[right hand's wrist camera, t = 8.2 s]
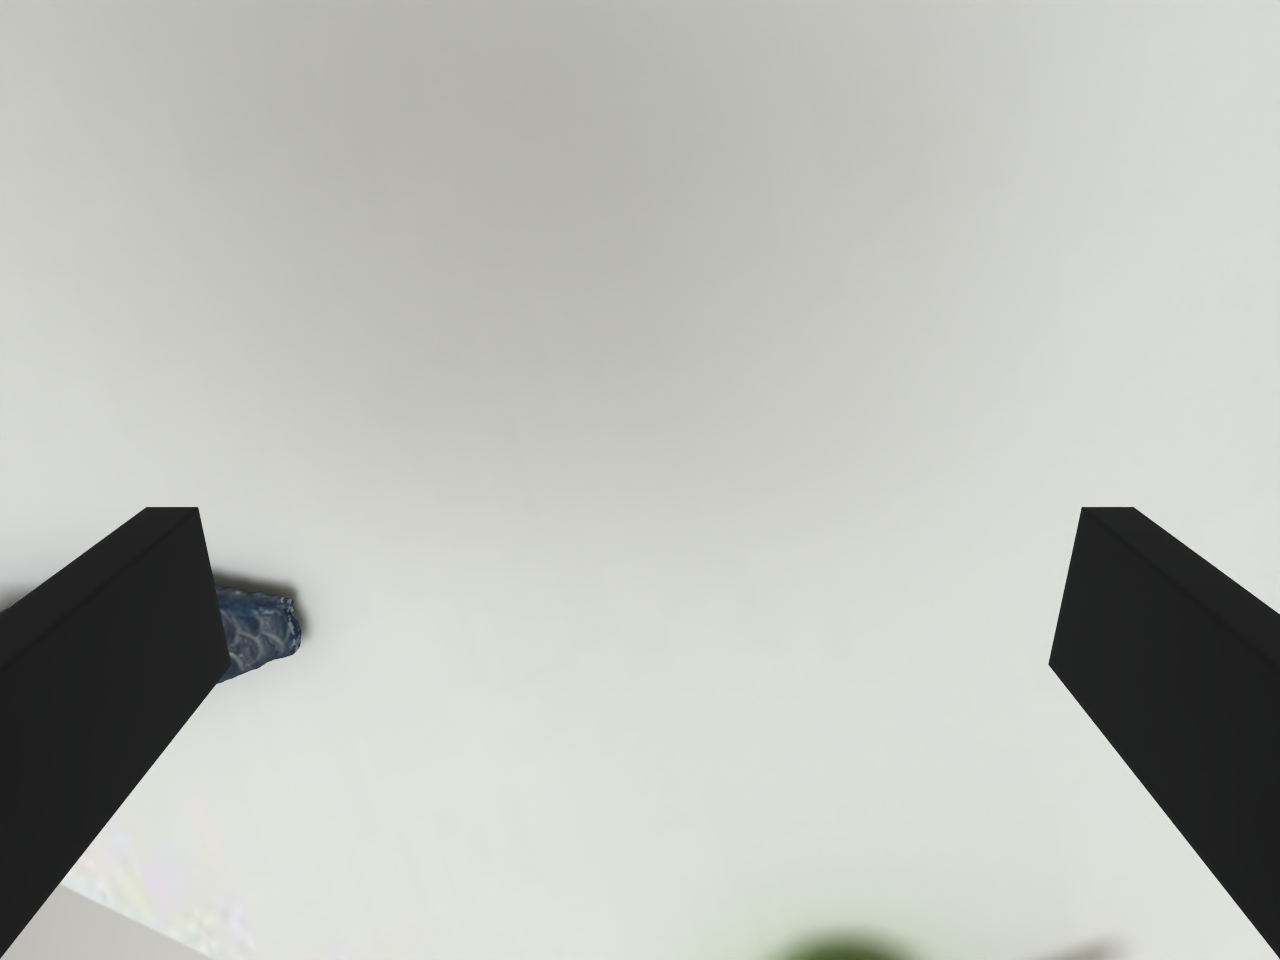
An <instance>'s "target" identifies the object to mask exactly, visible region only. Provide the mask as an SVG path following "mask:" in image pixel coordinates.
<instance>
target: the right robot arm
mask: <svg viewBox="0 0 1280 960" xmlns="http://www.w3.org/2000/svg"><path fill="white" fill-rule="evenodd" d="M231 665H232V664H231V660H230V655H229V650H228V646H227V641H226V636H225V631H224V627H223V622H222V617H221V613H220V608H219V603H218V599H217V594H216V589H215V584H214V580H213V575H212V570H211V566H210V561H209V556H208V551H207V547H206V542H205V537H204V533H203V528H202V523H201V519H200V514H199V509H198V507H146V508H145V509H143V510H142V511H141V512H139V513H138V514H137V515H135V516H134V517H132V518H131V519H130V520H128V521H127V522H126V523H124V524H123V525H122V526H120V527H119V528H117V529H116V530H115V531H113V532H112V533H111V534H109V535H108V536H107V537H105V538H104V539H102V540H101V541H100V542H98V543H97V544H96V545H94V546H93V547H92V548H90V549H89V550H87V551H86V552H85V553H83V554H82V555H81V556H79V557H78V558H77V559H75V560H74V561H72V562H71V563H70V564H68V565H67V566H66V567H64V568H63V569H62V570H60V571H59V572H57V573H56V574H55V575H53V576H52V577H51V578H49V579H48V580H47V581H45V582H44V583H42V584H41V585H40V586H38V587H37V588H36V589H34V590H33V591H32V592H30V593H29V594H27V595H26V596H25V597H23V598H22V599H21V600H19V601H18V602H17V603H15V604H14V605H12V606H11V607H10V608H8V609H7V610H6V611H4V612H3V613H2V614H0V958H1V957H2V956H3V954H4V953H5V952H6V951H7V949H8V948H9V947H10V945H11V944H12V943H13V942H14V940H15V939H16V938H17V937H18V935H19V934H20V933H21V932H22V930H23V929H24V928H25V926H26V925H27V924H28V923H29V921H30V920H31V919H32V918H33V916H34V915H35V914H36V913H37V911H38V910H39V909H40V907H41V906H42V905H43V904H44V902H45V901H46V900H47V898H48V897H49V896H50V895H51V893H52V892H53V891H54V890H55V888H56V887H57V886H58V885H59V883H60V882H61V881H62V879H63V878H64V877H65V876H66V874H67V873H68V872H69V871H70V869H71V868H72V867H73V865H74V864H75V863H76V862H77V860H78V859H79V858H80V857H81V855H82V854H83V853H84V851H85V850H86V849H87V848H88V846H89V845H90V844H91V843H92V841H93V840H94V839H95V837H96V836H97V835H98V834H99V832H100V831H101V830H102V829H103V827H104V826H105V825H106V824H107V822H108V821H109V820H110V818H111V817H112V816H113V815H114V813H115V812H116V811H117V810H118V808H119V807H120V806H121V804H122V803H123V802H124V801H125V799H126V798H127V797H128V796H129V794H130V793H131V792H132V790H133V789H134V788H135V787H136V785H137V784H138V783H139V782H140V780H141V779H142V778H143V776H144V775H145V774H146V773H147V771H148V770H149V769H150V768H151V766H152V765H153V764H154V762H155V761H156V760H157V759H158V757H159V756H160V755H161V754H162V752H163V751H164V750H165V748H166V747H167V746H168V745H169V743H170V742H171V741H172V740H173V738H174V737H175V736H176V735H177V733H178V732H179V731H180V729H181V728H182V727H183V726H184V724H185V723H186V722H187V721H188V719H189V718H190V717H191V715H192V714H193V713H194V712H195V710H196V709H197V708H198V707H199V705H200V704H201V703H202V701H203V700H204V699H205V698H206V696H207V695H208V694H209V693H210V691H211V690H212V689H213V687H214V686H215V685H216V684H217V682H218V681H219V680H220V679H221V677H222V676H223V675H224V673H225V672H226V671H227V670H228V668H229V667H230V666H231ZM1048 665H1049V666H1050V667H1051V668H1052V670H1053V671H1054V672H1055V673H1056V675H1057V676H1058V677H1059V679H1060V680H1061V681H1062V682H1063V684H1064V685H1065V686H1066V687H1067V689H1068V690H1069V691H1070V693H1071V694H1072V695H1073V696H1074V698H1075V699H1076V700H1077V701H1078V703H1079V704H1080V705H1081V707H1082V708H1083V709H1084V710H1085V712H1086V713H1087V714H1088V715H1089V717H1090V718H1091V719H1092V721H1093V722H1094V723H1095V724H1096V726H1097V727H1098V728H1099V729H1100V731H1101V732H1102V733H1103V735H1104V736H1105V737H1106V738H1107V740H1108V741H1109V742H1110V743H1111V745H1112V746H1113V747H1114V748H1115V750H1116V751H1117V752H1118V754H1119V755H1120V756H1121V757H1122V759H1123V760H1124V761H1125V762H1126V764H1127V765H1128V766H1129V768H1130V769H1131V770H1132V771H1133V773H1134V774H1135V775H1136V776H1137V778H1138V779H1139V780H1140V782H1141V783H1142V784H1143V785H1144V787H1145V788H1146V789H1147V790H1148V792H1149V793H1150V794H1151V796H1152V797H1153V798H1154V799H1155V801H1156V802H1157V803H1158V804H1159V806H1160V807H1161V808H1162V810H1163V811H1164V812H1165V813H1166V815H1167V816H1168V817H1169V818H1170V820H1171V821H1172V822H1173V824H1174V825H1175V826H1176V827H1177V829H1178V830H1179V831H1180V832H1181V834H1182V835H1183V836H1184V837H1185V839H1186V840H1187V841H1188V843H1189V844H1190V845H1191V846H1192V848H1193V849H1194V850H1195V851H1196V853H1197V854H1198V855H1199V857H1200V858H1201V859H1202V860H1203V862H1204V863H1205V864H1206V865H1207V867H1208V868H1209V869H1210V871H1211V872H1212V873H1213V874H1214V876H1215V877H1216V878H1217V879H1218V881H1219V882H1220V883H1221V885H1222V886H1223V887H1224V888H1225V890H1226V891H1227V892H1228V893H1229V895H1230V896H1231V897H1232V899H1233V900H1234V901H1235V902H1236V904H1237V905H1238V906H1239V907H1240V909H1241V910H1242V911H1243V913H1244V914H1245V915H1246V916H1247V918H1248V919H1249V920H1250V921H1251V923H1252V924H1253V925H1254V926H1255V928H1256V929H1257V930H1258V932H1259V933H1260V934H1261V935H1262V937H1263V938H1264V939H1265V940H1266V942H1267V943H1268V944H1269V946H1270V947H1271V948H1272V949H1273V951H1274V952H1275V953H1276V954H1277V956H1278V957H1279V958H1280V614H1278V613H1277V612H1276V611H1274V610H1273V609H1272V608H1270V607H1269V606H1268V605H1266V604H1265V603H1263V602H1262V601H1261V600H1259V599H1258V598H1257V597H1255V596H1254V595H1253V594H1251V593H1250V592H1248V591H1247V590H1246V589H1244V588H1243V587H1242V586H1240V585H1239V584H1238V583H1236V582H1235V581H1233V580H1232V579H1231V578H1229V577H1228V576H1227V575H1225V574H1224V573H1223V572H1221V571H1220V570H1218V569H1217V568H1216V567H1214V566H1213V565H1212V564H1210V563H1209V562H1208V561H1206V560H1205V559H1203V558H1202V557H1201V556H1199V555H1198V554H1197V553H1195V552H1194V551H1193V550H1191V549H1190V548H1188V547H1187V546H1186V545H1184V544H1183V543H1182V542H1180V541H1179V540H1178V539H1176V538H1175V537H1173V536H1172V535H1171V534H1169V533H1168V532H1167V531H1165V530H1164V529H1163V528H1161V527H1160V526H1158V525H1157V524H1156V523H1154V522H1153V521H1152V520H1150V519H1149V518H1148V517H1146V516H1145V515H1143V514H1142V513H1141V512H1139V511H1138V510H1137V509H1135V508H1134V507H1082V509H1081V514H1080V519H1079V523H1078V528H1077V533H1076V537H1075V542H1074V547H1073V551H1072V556H1071V561H1070V566H1069V570H1068V575H1067V580H1066V584H1065V589H1064V594H1063V599H1062V603H1061V608H1060V613H1059V617H1058V622H1057V627H1056V631H1055V636H1054V641H1053V646H1052V650H1051V655H1050V660H1049V664H1048Z"/></svg>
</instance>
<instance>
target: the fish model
mask: <svg viewBox="0 0 1280 960" xmlns="http://www.w3.org/2000/svg"><path fill="white" fill-rule="evenodd" d="M215 589H216V594H217V599H218V603H219V608H220V613H221V617H222V622H223V627H224V631H225V636H226V641H227V646H228V650H229V655H230V660H231V664H232V665H231V666H230V667H229V668H228V670H227V671H226V672H225V673H224V675H223V676H222V677H221V679H220V680H219V681H218V682H217V684H218V683H221V682H224V681H225V680H228V679H232V678H234V677H236V676H238V675H241V674H243V673H246V672H248V671H250V670H253V669H257V668H259V667H261V666H262V665H264V664H265V663H267V662H269V661H272V660H274V659H279V658H284V657H287V656H290V655H293V654H294V653H295V652H296V651H297V650H298V648H299V647H300V643H301V630H300V626H299V623H298V621H297V619H296V617H295V616H294V614H293V611H294V609H293V606H292V605H293V600H292V599H288V598H286V597H281V596H277V595H275V596H267V595H265V594H263V593H262V592H257V593H247V592H245V591H243V590H239V589H236V588H234V587H228V588H222V587H220V586H219V585H215ZM7 609H8V608H7ZM7 609H5V610H3V611H2V612H0V614H2V613H3V612H4V611H6V610H7Z"/></svg>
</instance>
